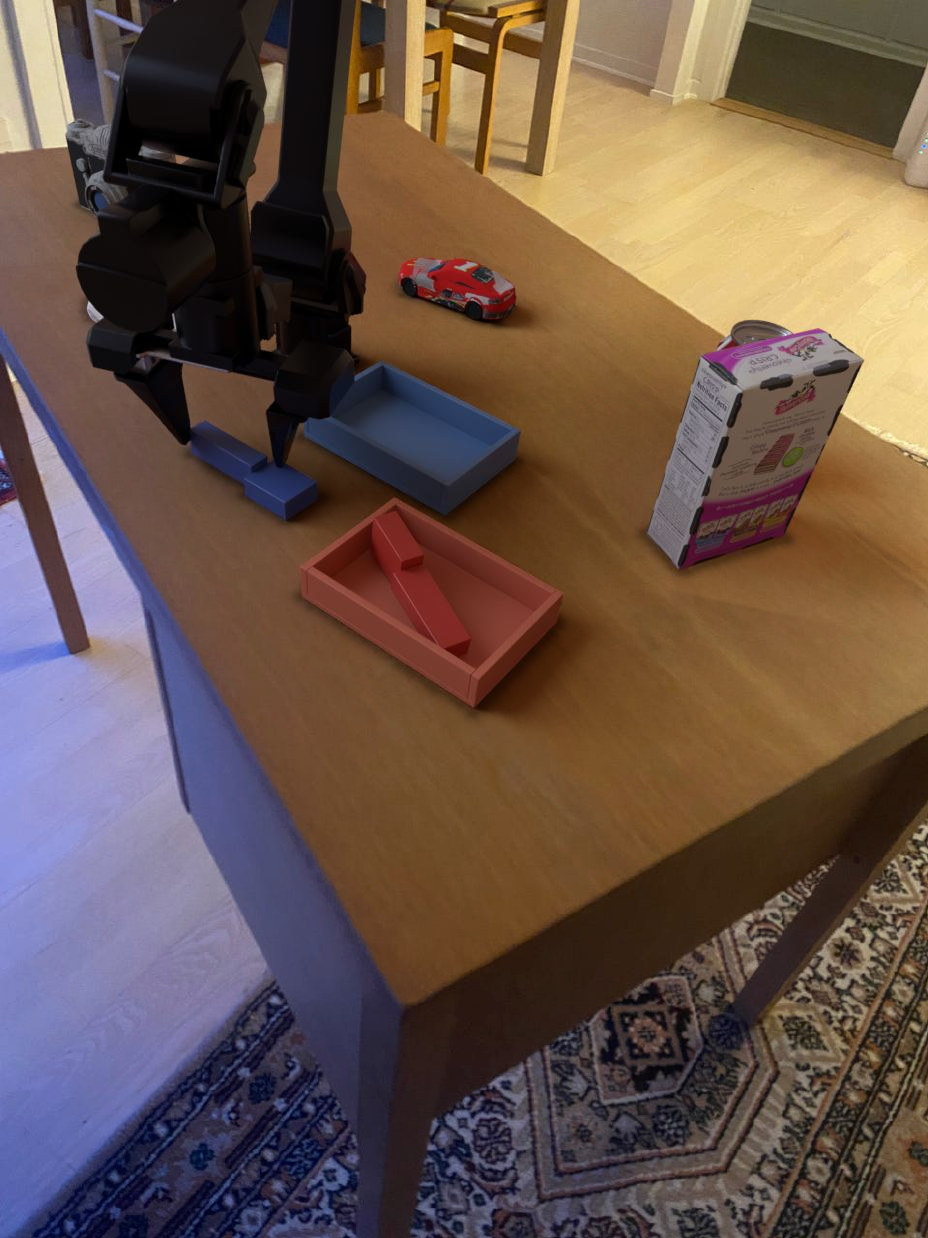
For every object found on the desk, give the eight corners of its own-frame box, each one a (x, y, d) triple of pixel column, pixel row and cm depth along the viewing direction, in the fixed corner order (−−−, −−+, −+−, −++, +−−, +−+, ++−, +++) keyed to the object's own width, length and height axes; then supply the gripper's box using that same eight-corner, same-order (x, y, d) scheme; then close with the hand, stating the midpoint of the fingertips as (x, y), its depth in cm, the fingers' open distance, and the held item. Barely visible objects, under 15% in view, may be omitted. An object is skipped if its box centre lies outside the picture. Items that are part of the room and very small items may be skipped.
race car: (387, 289, 96) (389, 252, 93) (414, 271, 99) (416, 235, 96) (496, 330, 92) (500, 293, 89) (520, 309, 95) (525, 273, 92)
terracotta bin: (301, 597, 64) (300, 566, 62) (393, 526, 70) (394, 496, 68) (473, 708, 58) (478, 679, 56) (556, 622, 64) (564, 593, 62)
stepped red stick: (474, 630, 59) (442, 642, 58) (465, 660, 62) (435, 672, 61) (396, 510, 64) (365, 519, 63) (391, 543, 67) (362, 552, 66)
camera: (51, 211, 100) (28, 114, 93) (98, 194, 104) (79, 99, 97) (149, 254, 96) (133, 155, 88) (194, 233, 100) (183, 137, 92)
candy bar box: (746, 500, 76) (820, 324, 64) (785, 537, 74) (871, 359, 62) (639, 532, 72) (698, 349, 60) (676, 573, 69) (746, 389, 57)
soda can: (758, 489, 78) (811, 366, 69) (680, 473, 78) (723, 349, 69) (756, 444, 82) (805, 324, 74) (683, 430, 83) (723, 308, 74)
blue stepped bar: (183, 458, 73) (179, 433, 71) (216, 439, 75) (213, 415, 73) (286, 521, 69) (284, 496, 67) (318, 499, 71) (317, 475, 69)
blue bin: (303, 436, 76) (302, 406, 74) (380, 388, 83) (381, 359, 80) (445, 516, 71) (448, 486, 69) (516, 459, 77) (521, 430, 75)
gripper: (380, 242, 65) (378, 425, 76) (144, 194, 67) (175, 379, 78) (322, 311, 57) (329, 503, 68) (58, 254, 60) (106, 449, 71)
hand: (233, 453), depth 72 cm, fingers closed on blue stepped bar, 8 cm apart
